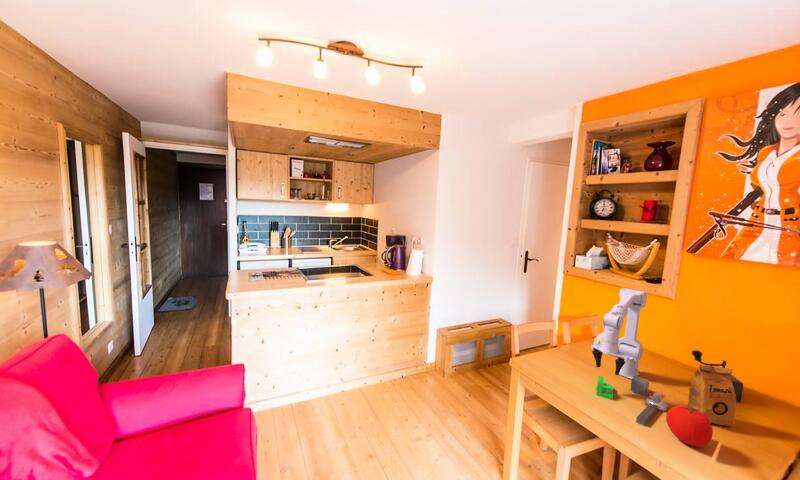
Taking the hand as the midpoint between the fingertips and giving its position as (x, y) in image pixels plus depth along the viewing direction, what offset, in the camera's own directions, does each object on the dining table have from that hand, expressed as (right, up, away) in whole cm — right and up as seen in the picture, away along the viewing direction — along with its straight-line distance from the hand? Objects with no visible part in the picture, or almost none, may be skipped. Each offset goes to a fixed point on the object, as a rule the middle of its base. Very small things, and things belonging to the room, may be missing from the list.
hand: (607, 370), depth 143 cm
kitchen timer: (+30, -8, +48) cm, 57 cm away
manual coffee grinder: (+52, -13, +5) cm, 54 cm away
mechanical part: (+1, -11, +3) cm, 11 cm away
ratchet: (+9, -12, -12) cm, 20 cm away
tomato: (+10, -14, -28) cm, 33 cm away
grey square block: (+17, -11, +3) cm, 20 cm away
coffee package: (+31, -14, -14) cm, 37 cm away
